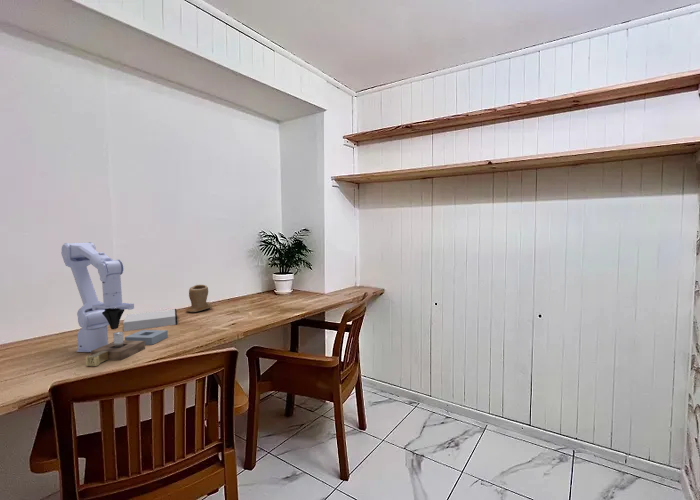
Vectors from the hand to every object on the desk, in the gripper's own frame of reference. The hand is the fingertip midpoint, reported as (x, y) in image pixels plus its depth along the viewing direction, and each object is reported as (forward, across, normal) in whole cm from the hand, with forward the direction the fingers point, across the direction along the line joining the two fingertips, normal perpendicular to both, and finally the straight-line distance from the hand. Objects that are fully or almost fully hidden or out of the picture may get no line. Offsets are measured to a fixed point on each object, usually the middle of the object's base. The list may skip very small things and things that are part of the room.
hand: (114, 328), depth 128 cm
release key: (+10, -1, -7) cm, 12 cm away
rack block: (+10, +1, +17) cm, 20 cm away
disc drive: (+10, -13, +44) cm, 47 cm away
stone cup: (+10, 0, +70) cm, 71 cm away
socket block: (+10, 0, +2) cm, 10 cm away
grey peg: (+10, 0, +2) cm, 10 cm away
